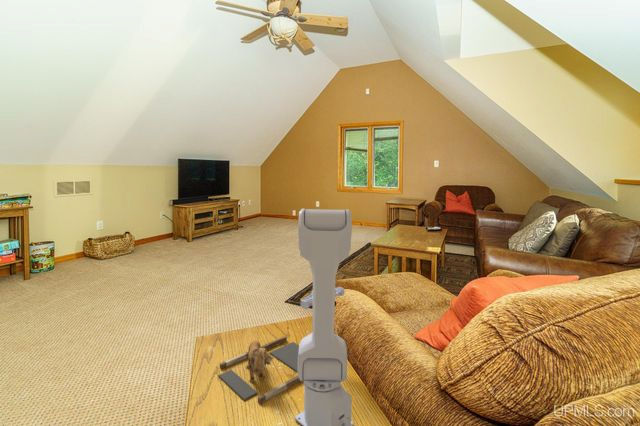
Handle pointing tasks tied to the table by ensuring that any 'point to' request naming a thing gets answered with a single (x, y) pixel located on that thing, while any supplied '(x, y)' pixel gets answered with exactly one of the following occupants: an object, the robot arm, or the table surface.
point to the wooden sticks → (276, 389)
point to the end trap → (237, 384)
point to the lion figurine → (257, 360)
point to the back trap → (288, 355)
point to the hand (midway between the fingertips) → (323, 326)
